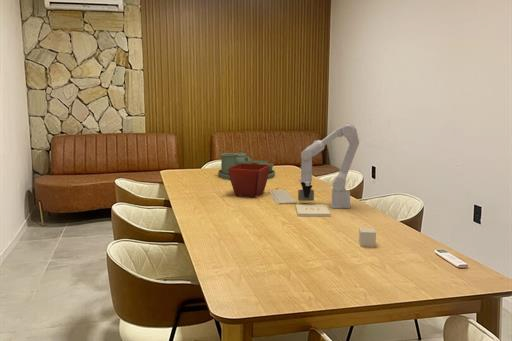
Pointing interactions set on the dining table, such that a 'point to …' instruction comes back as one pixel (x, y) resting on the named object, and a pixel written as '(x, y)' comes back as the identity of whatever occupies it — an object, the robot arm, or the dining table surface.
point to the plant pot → (249, 179)
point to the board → (312, 211)
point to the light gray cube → (367, 237)
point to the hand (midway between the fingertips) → (306, 196)
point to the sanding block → (302, 198)
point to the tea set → (237, 158)
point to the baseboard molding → (282, 197)
